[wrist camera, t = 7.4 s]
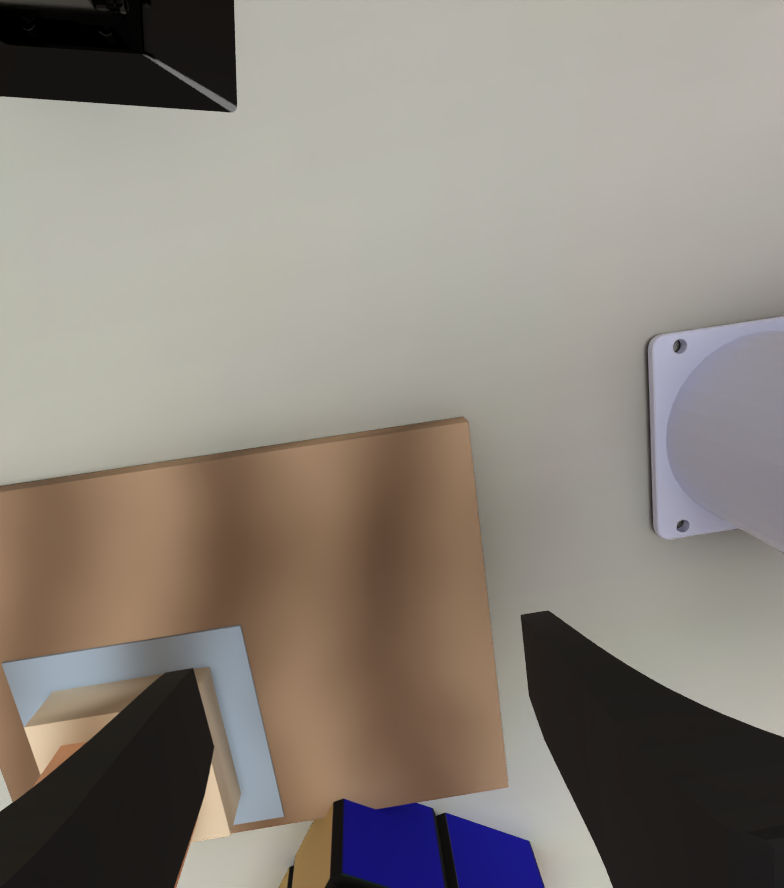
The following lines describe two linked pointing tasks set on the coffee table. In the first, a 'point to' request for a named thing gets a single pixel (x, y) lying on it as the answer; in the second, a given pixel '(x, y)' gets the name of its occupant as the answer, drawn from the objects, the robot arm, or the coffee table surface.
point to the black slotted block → (120, 52)
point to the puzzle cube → (408, 851)
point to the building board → (263, 619)
